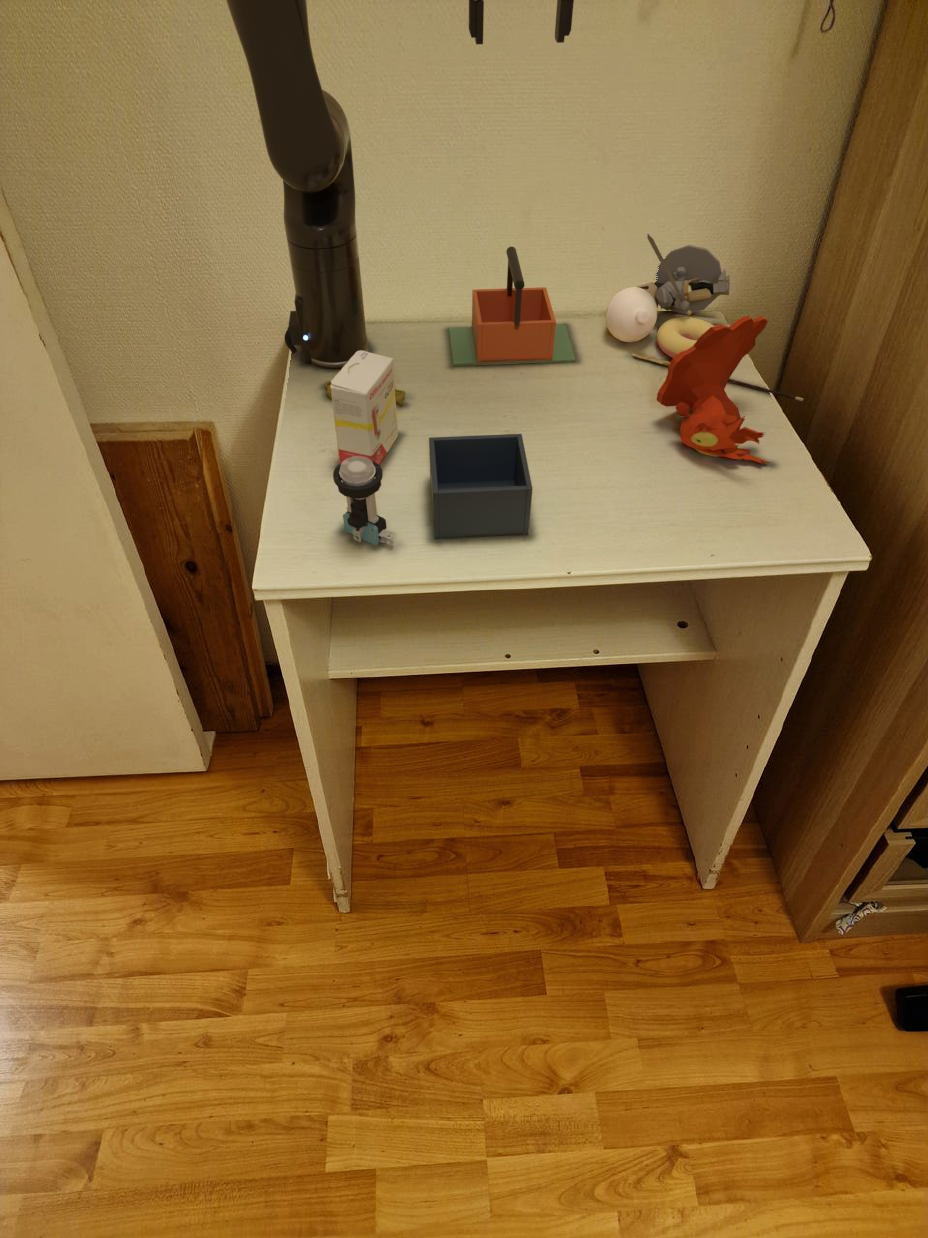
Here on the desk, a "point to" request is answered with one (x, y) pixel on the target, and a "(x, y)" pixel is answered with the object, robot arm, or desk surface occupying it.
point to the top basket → (513, 320)
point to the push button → (362, 499)
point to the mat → (466, 356)
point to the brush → (728, 379)
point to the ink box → (365, 406)
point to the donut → (680, 334)
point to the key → (398, 393)
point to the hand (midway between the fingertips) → (518, 41)
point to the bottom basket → (479, 486)
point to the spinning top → (631, 314)
